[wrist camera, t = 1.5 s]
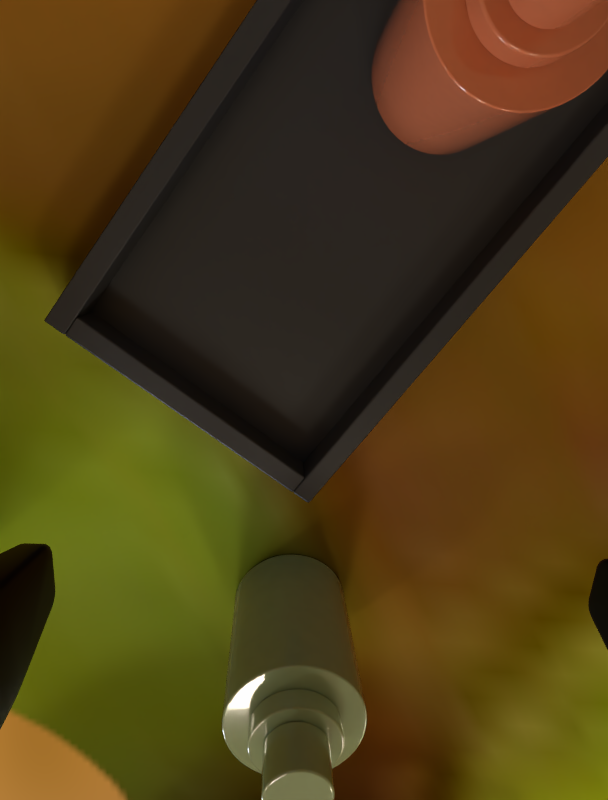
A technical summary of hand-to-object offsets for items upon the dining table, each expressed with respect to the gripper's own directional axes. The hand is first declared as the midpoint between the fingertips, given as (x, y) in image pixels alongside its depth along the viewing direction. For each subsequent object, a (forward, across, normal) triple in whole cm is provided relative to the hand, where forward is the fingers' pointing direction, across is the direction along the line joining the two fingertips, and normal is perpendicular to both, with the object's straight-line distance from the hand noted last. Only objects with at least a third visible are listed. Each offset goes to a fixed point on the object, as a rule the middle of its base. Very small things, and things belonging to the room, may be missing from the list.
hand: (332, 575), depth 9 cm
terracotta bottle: (+13, -4, -11) cm, 17 cm away
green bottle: (+13, 0, +11) cm, 17 cm away
